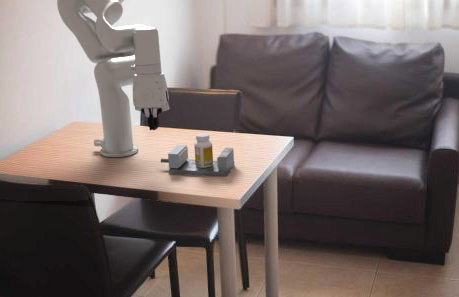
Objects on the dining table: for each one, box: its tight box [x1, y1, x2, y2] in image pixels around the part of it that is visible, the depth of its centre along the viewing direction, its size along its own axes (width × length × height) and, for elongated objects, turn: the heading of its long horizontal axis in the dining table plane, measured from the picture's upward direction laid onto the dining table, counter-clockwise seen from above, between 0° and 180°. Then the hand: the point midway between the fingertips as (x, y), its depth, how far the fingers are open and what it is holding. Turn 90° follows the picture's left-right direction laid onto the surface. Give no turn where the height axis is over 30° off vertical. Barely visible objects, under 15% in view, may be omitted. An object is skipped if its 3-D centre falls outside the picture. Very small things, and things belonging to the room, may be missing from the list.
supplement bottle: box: [193, 132, 214, 168], centre depth 207 cm, size 5×5×10 cm
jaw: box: [160, 144, 189, 169], centre depth 210 cm, size 7×9×4 cm
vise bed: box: [168, 147, 235, 178], centre depth 208 cm, size 18×10×6 cm, turn 76°
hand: (153, 128), depth 208 cm, fingers closed
